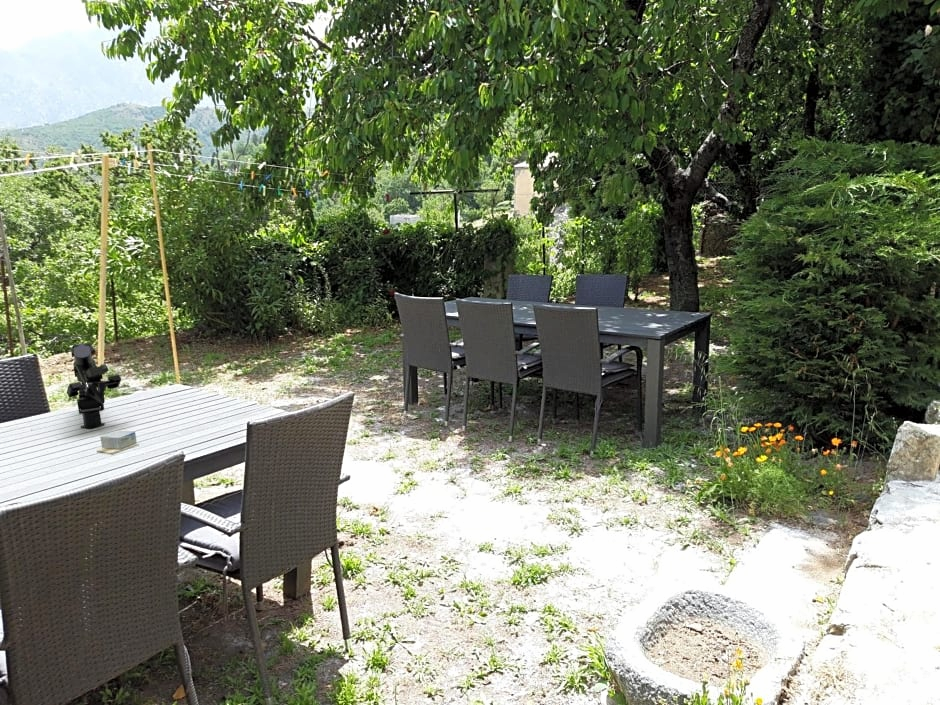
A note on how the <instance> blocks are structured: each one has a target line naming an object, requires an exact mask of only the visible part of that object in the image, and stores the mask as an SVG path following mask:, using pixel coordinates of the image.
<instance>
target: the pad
mask: <svg viewBox="0 0 940 705" xmlns="http://www.w3.org/2000/svg"><path fill="white" fill-rule="evenodd" d="M138 446H140V444H139V442H138V443H137V442H136V443H134V444H132V445H130V446H127V447H125V448H122V449H110V448H102V447H101V448H100V449H97V450H96V453H99V452H100V454H105V453H106V455H111V456H112V455H116V454H118V453H120V452H124V451H127V450H129V449H132V448H135V447H138ZM126 449H127V450H126Z"/></svg>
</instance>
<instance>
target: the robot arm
mask: <svg viewBox="0 0 940 705" xmlns="http://www.w3.org/2000/svg"><path fill="white" fill-rule="evenodd" d="M95 349H96V348H95V347H94V346H93V345H91V343H90V342H89V343H84V342H82V343H78V344H73V345H72V347H70V354H71V357H72V358H74V362H73V364H72V365H73V372H74V377H75V378H76V379H77V380H76V382H72V383H71V382H70V383H69V384H68V387H67V390H66V394H67V397H68V398H74V397H78V398H77V399H76V402H77V409H78V414H79V415H81V414H82V421H83V425H80V428H82V427H83V428H84V429H95V428H98V427H101V425H102V426H104V424H106V423H104V422H102V418H101V417H102V416H101V412H103V411H105V406H104V405H105V404H104V403H105V402H106V401H105V391H106V389H108V390H111V389H117V388H119V387H120V385H121V382H122V377H121V375H119V374H113V375H109V376H107V379H105V380H103V378H104V377H103V375H105V374H106V373H108V372H109V369H108V366H107V364H106V363H103V364H100V365H99V366H97V365H96V364H97V363H96V360H95V359H94V358H93V355H95V354H96V350H95ZM83 428H82V429H83Z"/></svg>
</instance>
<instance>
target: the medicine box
mask: <svg viewBox="0 0 940 705" xmlns="http://www.w3.org/2000/svg"><path fill="white" fill-rule="evenodd" d="M134 443H137V435H136V431H132V430H120V429H119V430H118V429H116V430H114V431H111V432H108V433H106V434H104V435H102V436H100V444H101V449H102V448H110V449H122V448H125V447H127V446H130V445H132V444H134Z"/></svg>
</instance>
